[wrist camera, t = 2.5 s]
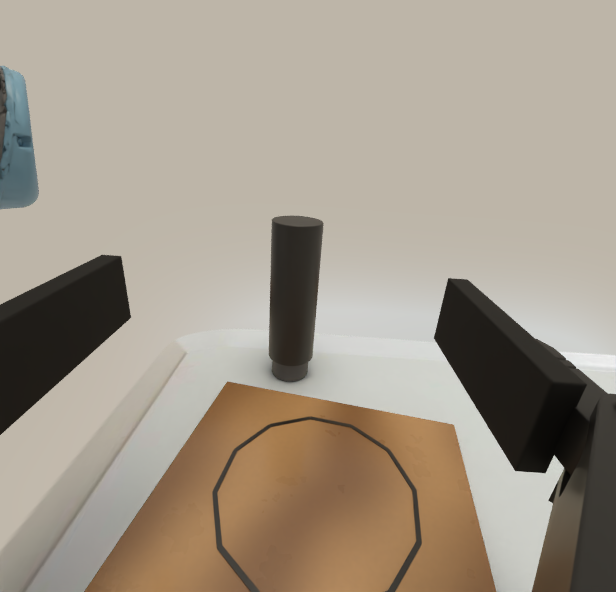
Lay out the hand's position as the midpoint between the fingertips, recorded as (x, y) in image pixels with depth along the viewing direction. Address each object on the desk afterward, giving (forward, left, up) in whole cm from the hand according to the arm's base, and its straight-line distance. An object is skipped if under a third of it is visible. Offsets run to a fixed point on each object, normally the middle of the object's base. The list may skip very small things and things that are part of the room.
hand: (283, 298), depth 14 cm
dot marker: (-2, +10, -11) cm, 15 cm away
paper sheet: (+2, 0, -11) cm, 11 cm away
